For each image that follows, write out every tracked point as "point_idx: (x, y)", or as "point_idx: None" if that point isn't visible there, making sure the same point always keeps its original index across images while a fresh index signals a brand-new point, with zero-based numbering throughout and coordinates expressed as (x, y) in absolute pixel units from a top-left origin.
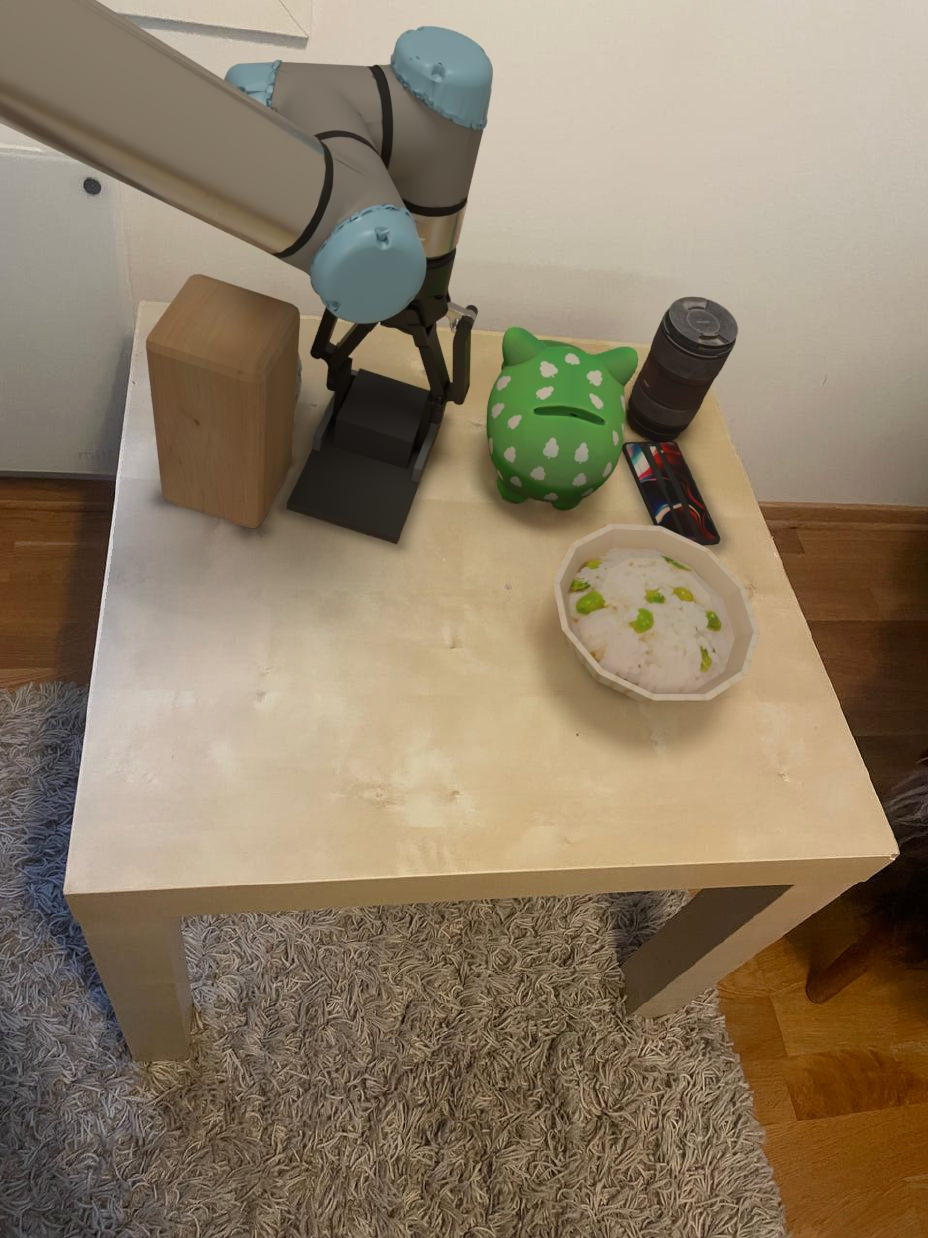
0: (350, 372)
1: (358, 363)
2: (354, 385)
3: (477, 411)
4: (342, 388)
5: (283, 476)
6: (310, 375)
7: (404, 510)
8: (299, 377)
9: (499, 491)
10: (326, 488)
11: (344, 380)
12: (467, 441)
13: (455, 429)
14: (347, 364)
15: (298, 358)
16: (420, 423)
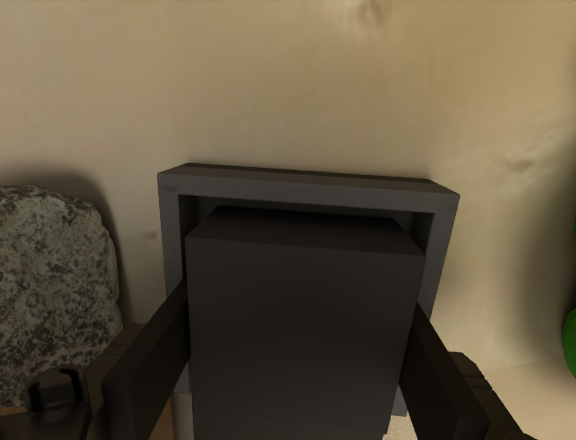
0: (159, 348)
1: (188, 57)
2: (195, 309)
3: (524, 115)
4: (164, 403)
5: (169, 433)
6: (106, 150)
7: (377, 436)
8: (78, 218)
9: (568, 366)
10: (241, 425)
11: (152, 428)
12: (492, 226)
13: (463, 199)
14: (125, 415)
15: (29, 214)
16: (403, 395)
